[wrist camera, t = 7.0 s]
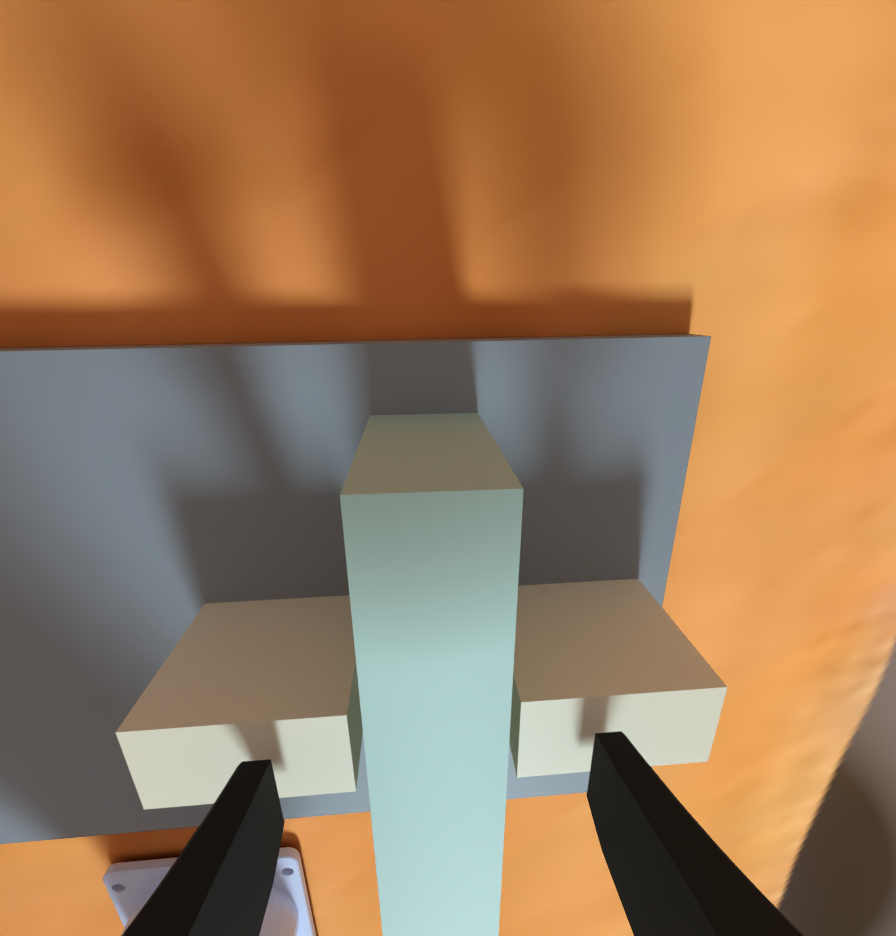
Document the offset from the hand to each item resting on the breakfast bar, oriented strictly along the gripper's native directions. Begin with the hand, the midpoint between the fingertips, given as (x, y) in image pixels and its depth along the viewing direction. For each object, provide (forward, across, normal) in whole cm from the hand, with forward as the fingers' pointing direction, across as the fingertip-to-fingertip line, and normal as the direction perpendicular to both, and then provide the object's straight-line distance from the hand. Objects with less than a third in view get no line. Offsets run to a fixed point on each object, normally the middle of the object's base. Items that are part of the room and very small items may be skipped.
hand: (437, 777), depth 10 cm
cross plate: (+5, 0, 0) cm, 5 cm away
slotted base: (+6, +5, 0) cm, 8 cm away
